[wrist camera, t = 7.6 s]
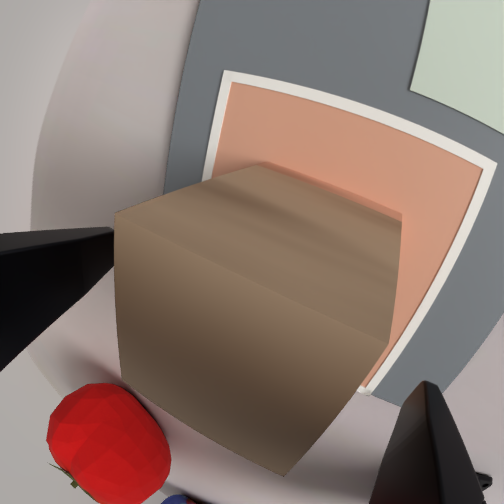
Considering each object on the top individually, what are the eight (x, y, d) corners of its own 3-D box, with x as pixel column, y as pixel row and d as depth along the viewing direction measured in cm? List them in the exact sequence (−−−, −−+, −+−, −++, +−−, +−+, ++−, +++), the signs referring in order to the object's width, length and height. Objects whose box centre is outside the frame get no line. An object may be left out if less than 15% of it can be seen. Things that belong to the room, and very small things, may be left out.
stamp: (349, 327, 12) (283, 476, 6) (239, 276, 14) (121, 380, 8) (402, 213, 10) (388, 343, 4) (268, 161, 11) (114, 212, 6)
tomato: (162, 381, 21) (65, 473, 13) (207, 472, 25) (148, 547, 17) (80, 349, 27) (2, 407, 18) (128, 436, 31) (72, 491, 22)
